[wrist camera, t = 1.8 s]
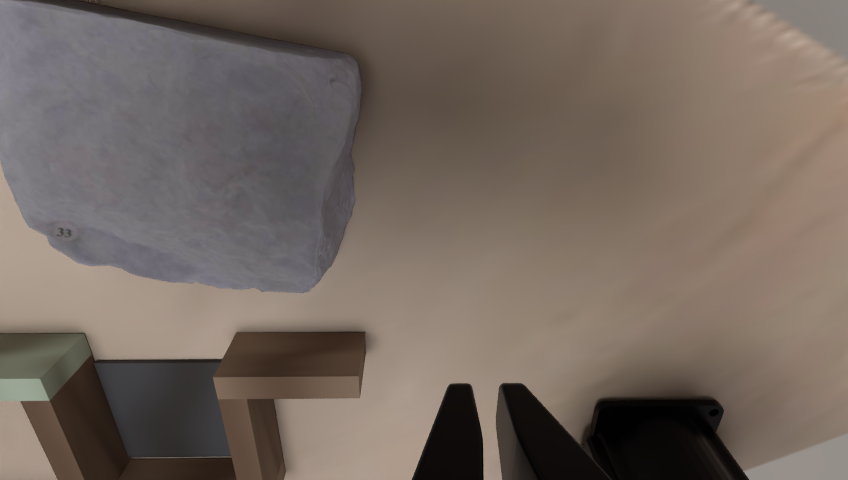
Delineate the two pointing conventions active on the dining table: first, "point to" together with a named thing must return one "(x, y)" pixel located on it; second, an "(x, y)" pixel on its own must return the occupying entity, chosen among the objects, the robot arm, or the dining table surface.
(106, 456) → the channel
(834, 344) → the dining table surface
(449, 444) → the robot arm
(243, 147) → the stone block
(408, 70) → the dining table surface
